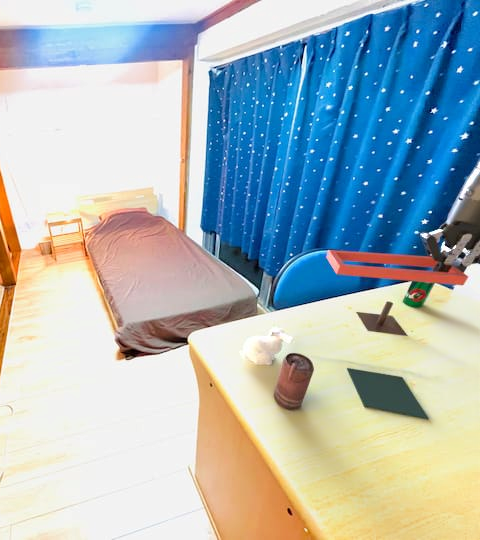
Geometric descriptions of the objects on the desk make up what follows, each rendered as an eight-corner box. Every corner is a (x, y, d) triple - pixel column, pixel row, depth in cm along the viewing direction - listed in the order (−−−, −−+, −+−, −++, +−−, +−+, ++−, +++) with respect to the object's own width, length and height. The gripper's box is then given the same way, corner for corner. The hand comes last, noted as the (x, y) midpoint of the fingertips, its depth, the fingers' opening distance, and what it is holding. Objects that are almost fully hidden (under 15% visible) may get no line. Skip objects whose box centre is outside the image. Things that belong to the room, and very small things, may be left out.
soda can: (425, 310, 94) (441, 280, 89) (407, 310, 95) (423, 280, 90) (413, 302, 99) (428, 272, 93) (397, 301, 100) (411, 272, 94)
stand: (390, 318, 93) (402, 295, 88) (406, 338, 84) (419, 315, 80) (354, 314, 96) (363, 292, 91) (366, 333, 88) (376, 310, 83)
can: (269, 402, 70) (279, 363, 64) (278, 386, 74) (289, 347, 67) (295, 417, 66) (310, 377, 60) (304, 399, 70) (318, 360, 63)
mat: (401, 377, 73) (402, 376, 73) (428, 419, 63) (429, 418, 63) (346, 368, 77) (347, 367, 77) (364, 406, 67) (364, 405, 67)
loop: (326, 257, 67) (328, 249, 66) (437, 265, 60) (441, 257, 59) (336, 274, 60) (339, 266, 59) (463, 285, 53) (468, 276, 52)
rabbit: (271, 345, 87) (279, 315, 81) (291, 369, 78) (300, 337, 73) (234, 351, 86) (239, 321, 80) (249, 375, 78) (256, 343, 72)
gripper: (527, 190, 50) (474, 273, 58) (428, 189, 54) (393, 267, 63) (568, 201, 44) (503, 293, 52) (453, 200, 48) (410, 284, 56)
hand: (443, 278), depth 57 cm, fingers closed on loop, 1 cm apart
